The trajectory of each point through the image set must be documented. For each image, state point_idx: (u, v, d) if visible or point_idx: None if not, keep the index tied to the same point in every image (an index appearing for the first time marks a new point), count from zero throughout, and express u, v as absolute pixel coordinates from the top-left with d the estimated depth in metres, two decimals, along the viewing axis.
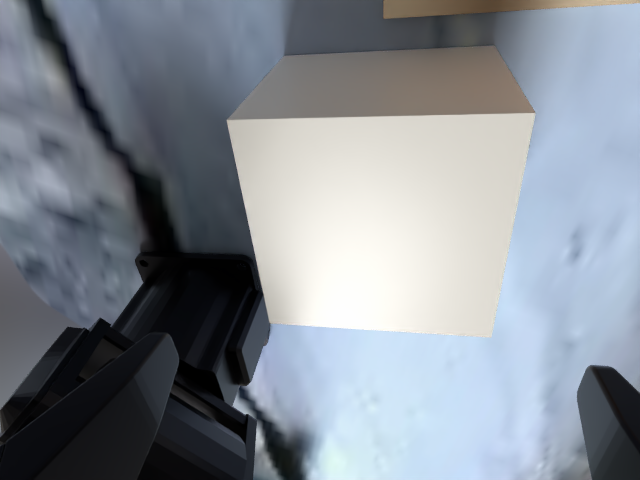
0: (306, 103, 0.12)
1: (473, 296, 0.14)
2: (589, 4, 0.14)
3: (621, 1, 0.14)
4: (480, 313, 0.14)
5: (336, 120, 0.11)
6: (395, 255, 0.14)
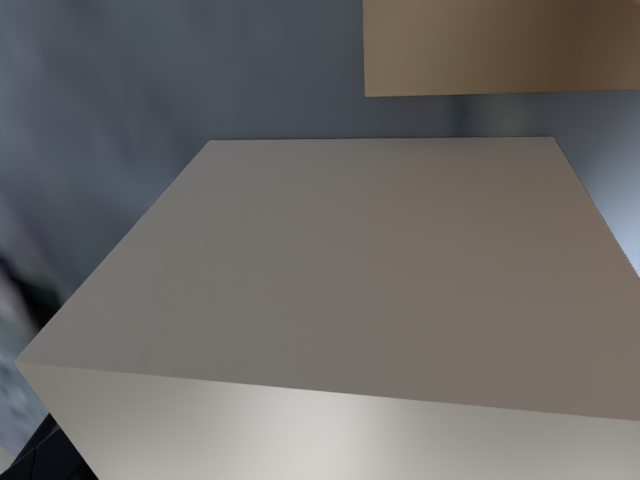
0: (197, 308, 0.06)
1: None
2: None
3: None
4: None
5: (241, 389, 0.05)
6: None
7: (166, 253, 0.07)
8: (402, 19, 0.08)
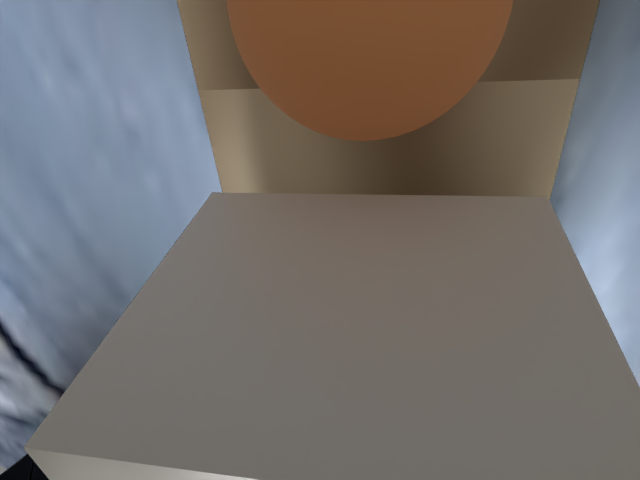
0: (201, 389, 0.06)
1: None
2: None
3: None
4: None
5: None
6: None
7: (171, 324, 0.07)
8: None
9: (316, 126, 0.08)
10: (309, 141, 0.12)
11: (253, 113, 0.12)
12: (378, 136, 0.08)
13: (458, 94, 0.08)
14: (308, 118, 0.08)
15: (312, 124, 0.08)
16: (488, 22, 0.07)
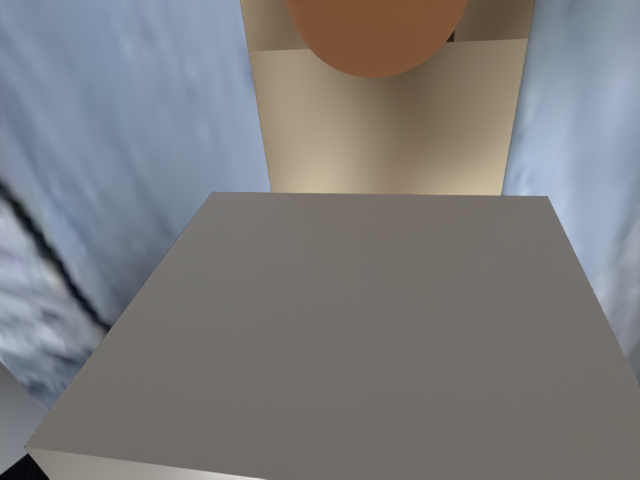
0: (200, 389, 0.06)
1: None
2: None
3: None
4: None
5: None
6: None
7: (171, 324, 0.07)
8: None
9: (343, 64, 0.12)
10: (331, 90, 0.16)
11: (289, 69, 0.16)
12: (384, 71, 0.12)
13: (438, 40, 0.11)
14: (338, 57, 0.12)
15: (340, 62, 0.12)
16: None
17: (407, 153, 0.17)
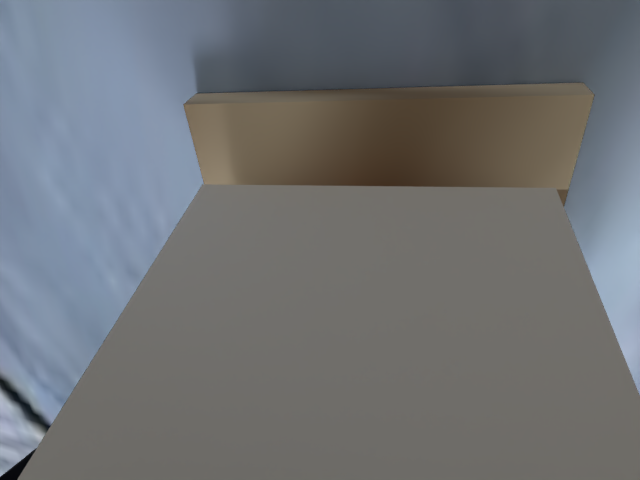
0: (193, 418, 0.06)
1: None
2: None
3: None
4: None
5: None
6: None
7: (161, 342, 0.07)
8: None
9: None
10: None
11: None
12: None
13: None
14: None
15: None
16: None
17: None
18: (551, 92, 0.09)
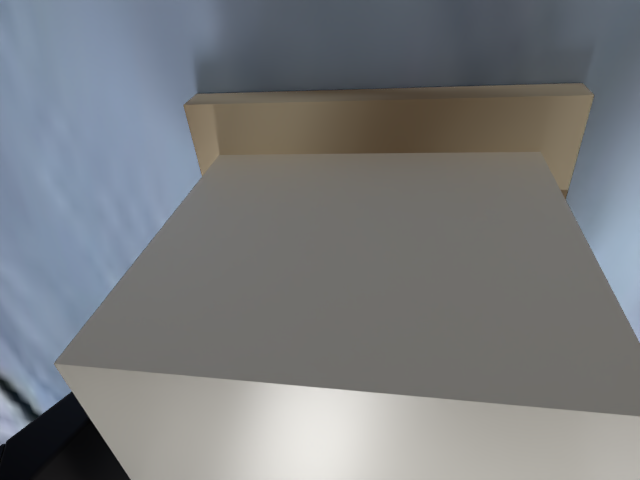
0: (214, 315, 0.07)
1: None
2: None
3: None
4: None
5: (257, 386, 0.06)
6: None
7: (184, 264, 0.08)
8: None
9: None
10: None
11: None
12: None
13: None
14: None
15: None
16: None
17: None
18: (551, 92, 0.09)
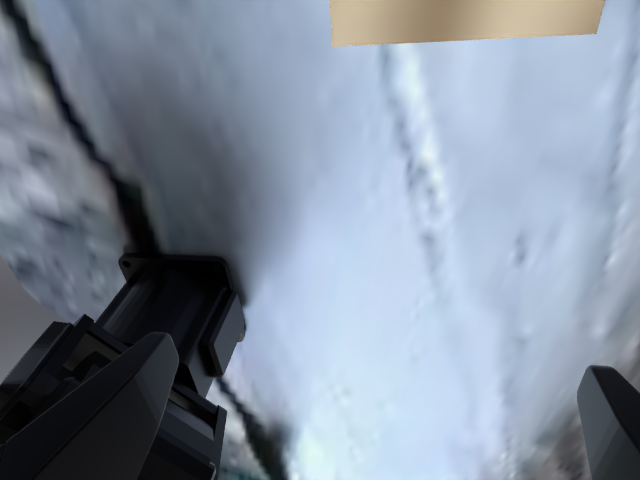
0: None
1: None
2: (512, 36, 0.16)
3: (539, 34, 0.15)
4: None
5: None
6: None
7: None
8: (349, 6, 0.16)
9: None
10: None
11: None
12: None
13: None
14: None
15: None
16: None
17: None
18: None
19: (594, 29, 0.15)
